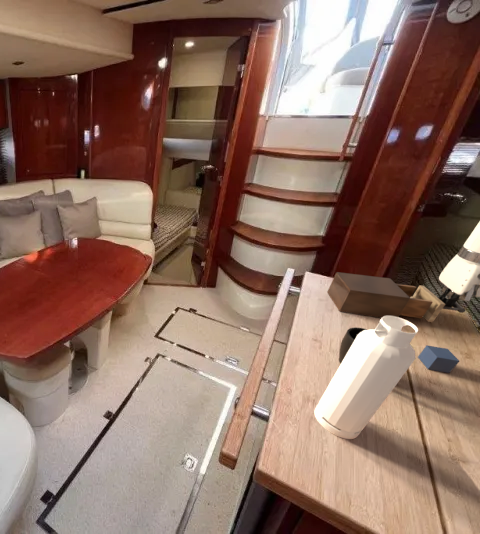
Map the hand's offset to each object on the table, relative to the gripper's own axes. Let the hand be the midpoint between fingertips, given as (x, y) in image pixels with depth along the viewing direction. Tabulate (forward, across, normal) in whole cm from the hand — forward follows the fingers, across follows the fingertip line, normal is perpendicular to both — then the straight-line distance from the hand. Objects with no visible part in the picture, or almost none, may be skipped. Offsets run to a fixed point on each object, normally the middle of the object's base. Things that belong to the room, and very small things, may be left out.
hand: (441, 307), depth 95 cm
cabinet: (+4, 0, +20) cm, 21 cm away
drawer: (+3, 0, +7) cm, 8 cm away
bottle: (+4, -51, +43) cm, 67 cm away
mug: (+4, -33, +33) cm, 47 cm away
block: (+4, -25, +13) cm, 29 cm away
